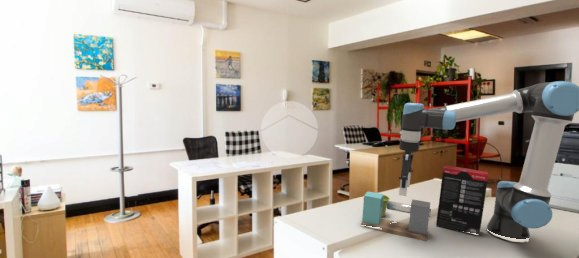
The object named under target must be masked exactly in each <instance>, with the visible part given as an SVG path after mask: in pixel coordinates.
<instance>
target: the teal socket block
mask: <svg viewBox="0 0 579 258" xmlns="http://www.w3.org/2000/svg"><path fill="white" fill-rule="evenodd" d="M383 195H384V193H380V192H374V191H366V193H365V194H364V195H363V207H362V220H361V223H362V222H365V223H369V224H374V225H379V223H380V221H381V219H382V217H383V216H382V206H383Z"/></svg>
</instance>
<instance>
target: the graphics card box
mask: <svg viewBox="0 0 579 258" xmlns="http://www.w3.org/2000/svg"><path fill="white" fill-rule="evenodd" d="M488 179H489V172H488V171H483V170H477V169H471V168H464V167H458V166H453V165H446V164H445V165H444V166H443V167H442V177H441V182H440V185H441V186H440V192H439V197H438V198H439V200H438V201H439V202H438V207H437V215H436V216H437V217H436V222H435V223H436V226H437V227H441V228H444V229H450V230H453V231H456V230H458V231H457V232H460V231H464V232H470V233H476V234H479V235H480V232H481V227H482V220H483V214H484V208H485V200H486V195H487V187H488ZM464 232H463V233H464Z"/></svg>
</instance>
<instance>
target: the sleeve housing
mask: <svg viewBox="0 0 579 258" xmlns="http://www.w3.org/2000/svg"><path fill="white" fill-rule="evenodd" d="M411 200H412V201H411V204H410V205H411V210H410V213H409V220H408V224H409V230H408V232H411V233H415V234H420V235H424V236H427V237H428V228H429V219H430V217H429V211H430V209H431V202H430V201H424V200H419V199H413V198H412V199H411Z"/></svg>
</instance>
